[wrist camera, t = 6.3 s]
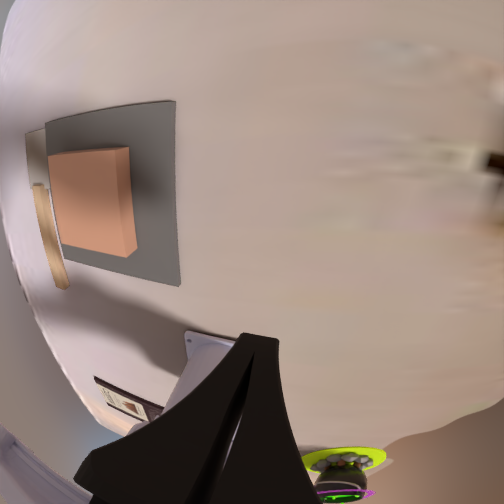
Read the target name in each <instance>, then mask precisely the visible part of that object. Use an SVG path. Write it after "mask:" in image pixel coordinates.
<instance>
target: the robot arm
mask: <svg viewBox="0 0 504 504" xmlns="http://www.w3.org/2000/svg"><path fill="white" fill-rule="evenodd" d="M184 338H185V345H186V352H187V358H188V362H187V364H186V366H185V368H184V370H183V372H182V374H181V376H180V378H179V380H178V382H177V384H176V386H175V388H174V390H173V392H172V394H171V396H170V398H169V400H168V402H167V404H166V406H165V408H164V410H163V412H162V414H161V416H159V415H157V416H156V417H155V419H154V420H153V421H152V422H148V421H143V422H142V423H137V424H135V425H134V426H133V427H132V428H131V430H130V431H129V432H128V434H127V435H126V436H125V437H123V438H121V439H119V440H117V441H115V442H112V443H110V444H107V445H104V446H102V447H99V448H97V449H94V450H92V451H91V452H90V454H89V455H88V456H87V457H86V458H85V460H84V461H83V462H82V464H81V466H80V468H79V469H78V471H77V473H76V474H75V476H74V478H73V479H74V481H75V482H76V483H77V484H78V485H80V486H81V487H83V488H84V489H86V490H88V491H89V492H91V493H92V494H93V496H91V495H89V494H88V493H86V492H85V491H83V490H82V489H80V488H78V487H77V486H76V485H74V484H73V483H71V482H70V481H68V480H67V479H65V478H64V477H63V476H61V475H60V474H59V473H57V472H56V471H55V470H53V469H52V468H51V467H49V466H48V465H47V464H46V463H44V462H43V461H42V460H41V459H39V458H38V457H37V456H36V455H35V454H34V452H33V451H32V450H31V449H29V448H28V447H27V446H26V445H25V444H24V443H23V442H22V441H21V440H20V439H18V438H17V437H16V436H15V435H14V434H13V433H11V432H10V431H9V430H7V428H6V427H5V426H4V425H2V423H1V422H0V494H1V496H2V497H3V498H4V500H5V501H6V502H7V504H323V503H322V501H321V499H320V497H319V496H318V494H317V492H316V490H315V488H314V486H313V484H312V482H311V480H310V477H309V475H308V473H307V470H306V468H305V466H304V463H303V461H302V458H301V456H300V453H299V451H298V448H297V445H296V442H295V439H294V436H293V433H292V430H291V426H290V423H289V419H288V415H287V411H286V407H285V402H284V397H283V392H282V386H281V379H280V371H279V356H278V355H279V340H278V339H277V338H271V337H265V336H260V335H255V334H249V333H242V334H240V336H239V337H238V339H237V340H236V341H231V340H227V339H222V338H218V337H213V336H209V335H205V334H201V333H196V332H192V331H186V332H185V334H184Z"/></svg>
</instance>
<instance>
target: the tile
mask: <svg viewBox="0 0 504 504" xmlns="http://www.w3.org/2000/svg"><path fill="white" fill-rule="evenodd" d="M48 165H49V174H50V183H51V190H52V197H53V203H54V209H55V215H56V220H57V225H58V230H59V235H60V239H61V243H62V244H66V245H71V246H75V247H80V248H84V249H88V250H93V251H98V252H102V253H107V254H111V255H116V256H121V257H126V258H127V257H128V256H129V255H130V254H131V253H133V252H134V251H135V250H136V249H137V241H136V233H135V224H134V215H133V204H132V193H131V178H130V159H129V147H114V148H99V149H87V150H77V151H68V152H60V153H57V154H54V155H50V156H48Z"/></svg>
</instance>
